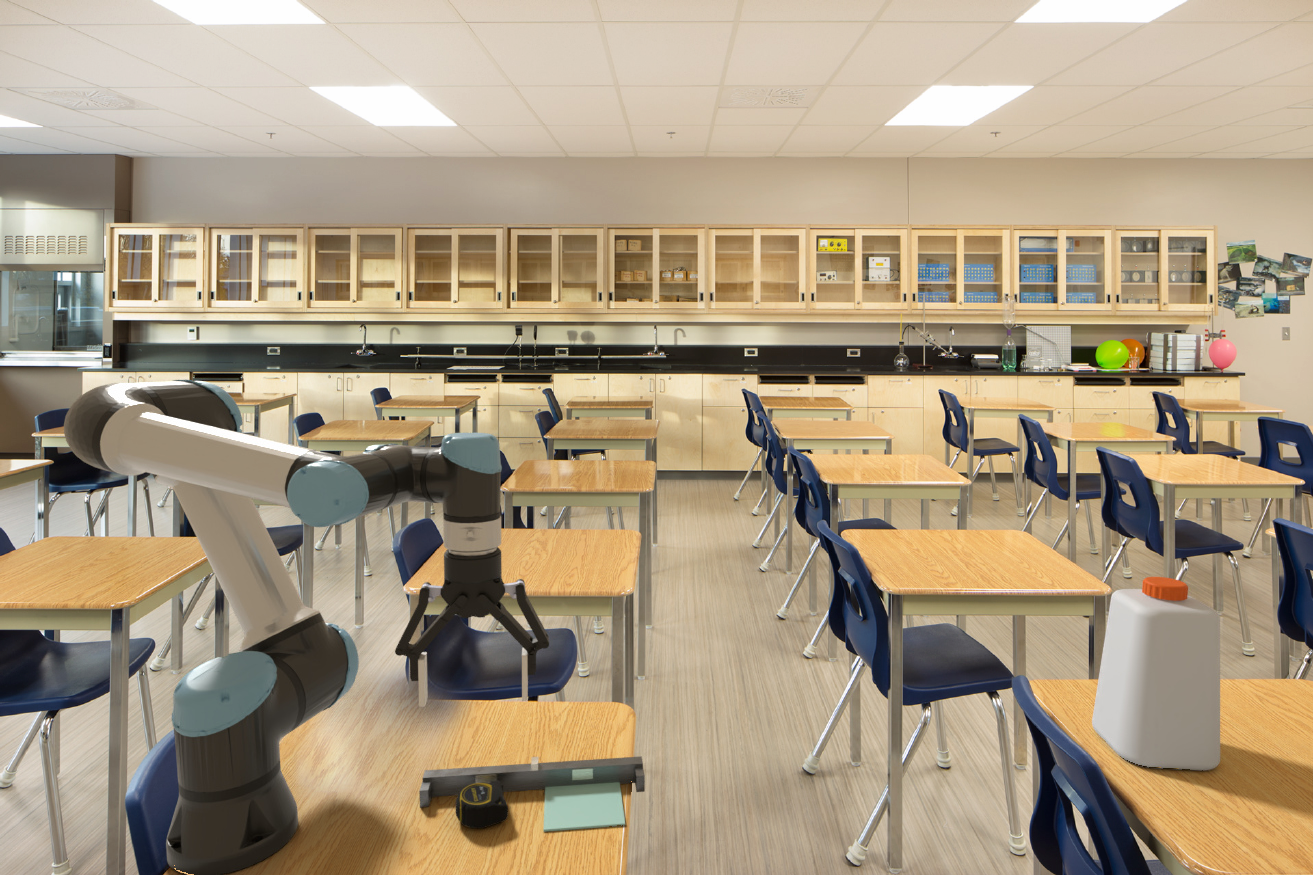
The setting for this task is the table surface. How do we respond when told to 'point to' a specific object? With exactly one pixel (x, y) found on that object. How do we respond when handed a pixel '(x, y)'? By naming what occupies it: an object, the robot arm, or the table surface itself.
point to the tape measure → (481, 805)
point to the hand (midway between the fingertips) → (474, 699)
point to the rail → (534, 776)
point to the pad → (583, 806)
